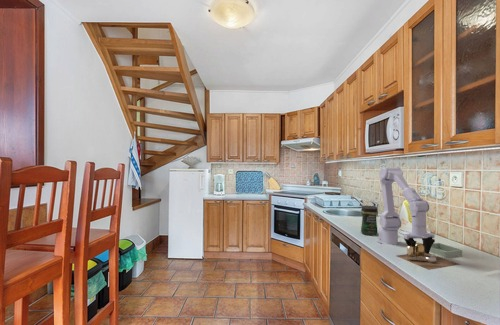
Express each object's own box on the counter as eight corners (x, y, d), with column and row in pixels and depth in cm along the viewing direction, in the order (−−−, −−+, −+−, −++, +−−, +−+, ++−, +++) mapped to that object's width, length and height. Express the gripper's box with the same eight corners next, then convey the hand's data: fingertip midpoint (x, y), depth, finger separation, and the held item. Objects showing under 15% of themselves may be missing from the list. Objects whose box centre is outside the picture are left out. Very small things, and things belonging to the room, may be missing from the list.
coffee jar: (362, 235, 152) (362, 206, 152) (360, 231, 159) (359, 204, 160) (379, 236, 149) (379, 207, 150) (375, 232, 157) (375, 205, 157)
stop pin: (412, 255, 115) (412, 243, 115) (418, 254, 116) (418, 242, 116) (420, 258, 111) (420, 245, 111) (426, 257, 112) (426, 245, 112)
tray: (422, 251, 123) (422, 244, 123) (438, 249, 126) (438, 242, 126) (445, 259, 112) (445, 252, 112) (462, 257, 115) (462, 249, 116)
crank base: (395, 257, 115) (395, 255, 115) (425, 253, 120) (425, 251, 120) (428, 272, 99) (428, 269, 99) (461, 266, 105) (461, 263, 105)
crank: (433, 259, 109) (433, 246, 109) (438, 263, 105) (438, 249, 105) (405, 257, 112) (405, 244, 112) (409, 261, 108) (409, 247, 108)
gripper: (411, 227, 109) (412, 257, 109) (440, 226, 111) (440, 255, 110) (400, 224, 116) (400, 251, 116) (427, 223, 118) (427, 250, 117)
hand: (419, 253), depth 114 cm, fingers open, 7 cm apart
